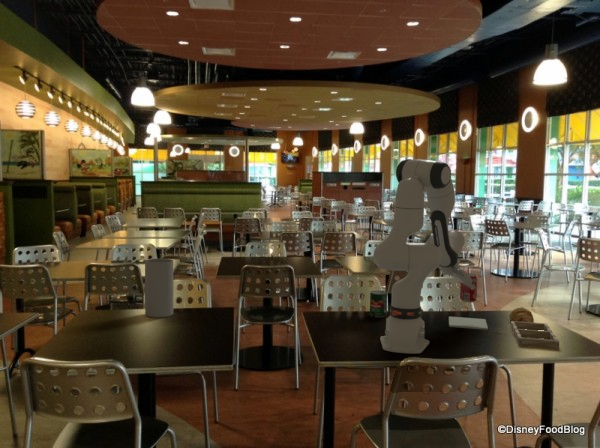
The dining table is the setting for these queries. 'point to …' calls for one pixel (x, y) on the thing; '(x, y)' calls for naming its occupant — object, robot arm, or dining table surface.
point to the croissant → (521, 315)
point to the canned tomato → (378, 303)
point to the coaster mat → (468, 323)
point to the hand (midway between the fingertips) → (470, 286)
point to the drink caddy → (534, 335)
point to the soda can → (469, 290)
